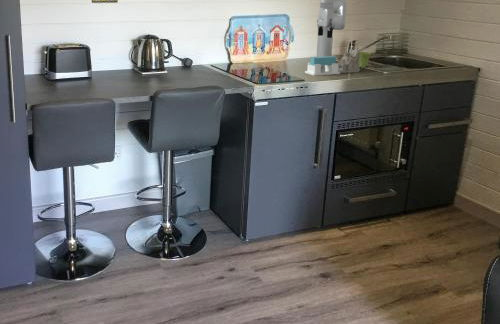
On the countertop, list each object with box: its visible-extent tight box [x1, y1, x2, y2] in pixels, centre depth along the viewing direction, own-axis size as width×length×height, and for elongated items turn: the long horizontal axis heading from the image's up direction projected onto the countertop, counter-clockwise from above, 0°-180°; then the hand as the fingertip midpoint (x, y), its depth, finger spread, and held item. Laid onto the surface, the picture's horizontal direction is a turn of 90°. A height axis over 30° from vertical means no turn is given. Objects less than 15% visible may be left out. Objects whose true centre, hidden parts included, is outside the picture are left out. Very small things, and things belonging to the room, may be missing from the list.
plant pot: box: [359, 51, 372, 68], centre depth 364 cm, size 9×9×9 cm
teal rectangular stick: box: [309, 55, 337, 66], centre depth 336 cm, size 4×15×4 cm, turn 116°
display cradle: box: [304, 62, 341, 76], centre depth 338 cm, size 10×18×6 cm, turn 116°
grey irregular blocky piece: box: [337, 46, 361, 74], centre depth 349 cm, size 16×16×15 cm
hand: (324, 36), depth 332 cm, fingers open, 9 cm apart
